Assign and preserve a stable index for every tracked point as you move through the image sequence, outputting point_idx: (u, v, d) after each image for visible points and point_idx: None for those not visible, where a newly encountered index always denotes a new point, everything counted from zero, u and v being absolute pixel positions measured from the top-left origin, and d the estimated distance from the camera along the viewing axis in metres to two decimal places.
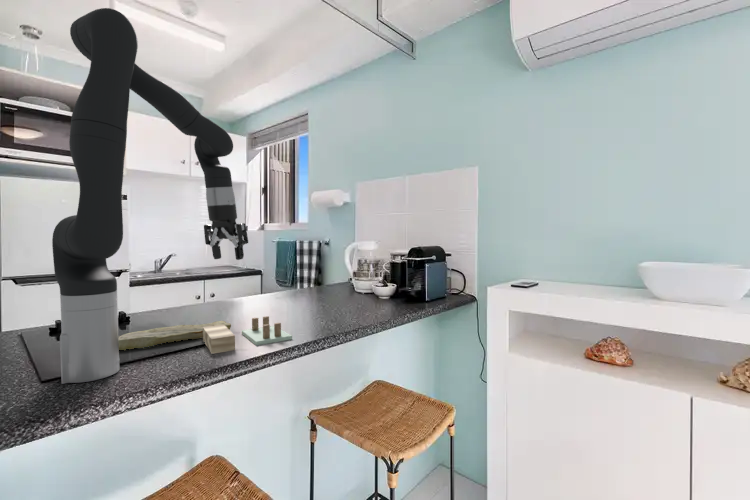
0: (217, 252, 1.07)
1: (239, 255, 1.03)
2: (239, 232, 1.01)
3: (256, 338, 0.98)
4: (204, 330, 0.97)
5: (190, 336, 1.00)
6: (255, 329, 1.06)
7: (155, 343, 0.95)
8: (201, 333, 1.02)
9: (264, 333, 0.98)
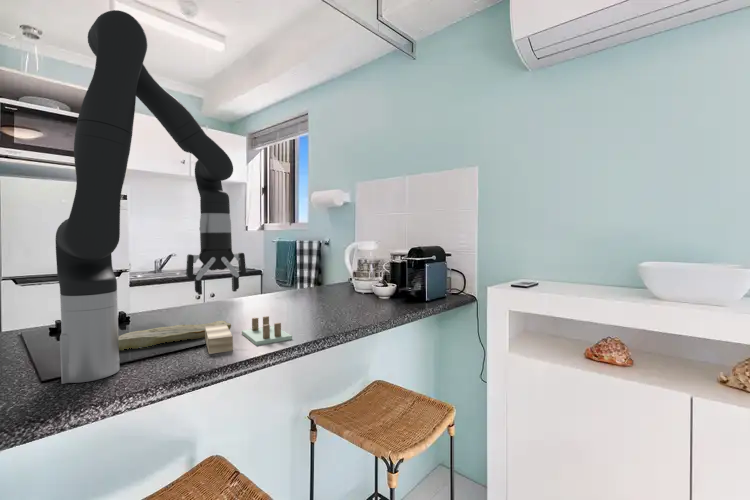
0: None
1: (237, 286, 0.98)
2: (243, 261, 0.98)
3: (256, 338, 0.98)
4: (205, 330, 0.98)
5: (190, 336, 1.00)
6: (255, 329, 1.06)
7: (155, 343, 0.95)
8: (201, 333, 1.02)
9: (264, 333, 0.98)
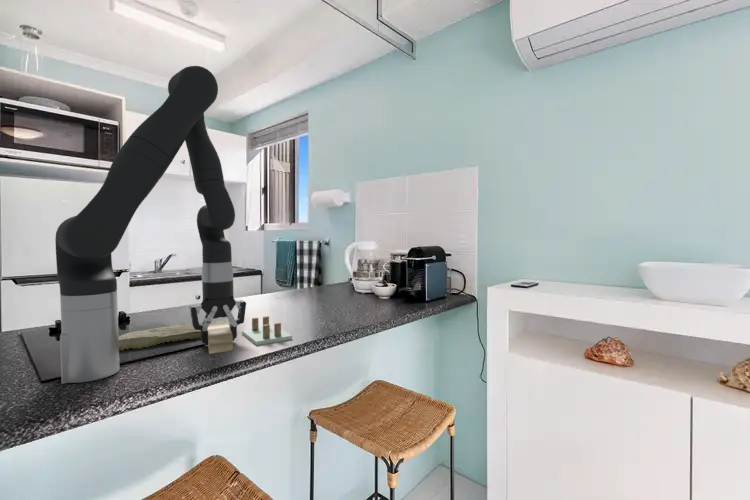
0: None
1: (235, 335, 0.98)
2: (243, 310, 0.98)
3: (256, 338, 0.98)
4: None
5: (190, 336, 1.00)
6: (255, 329, 1.06)
7: (155, 343, 0.95)
8: None
9: (264, 333, 0.98)
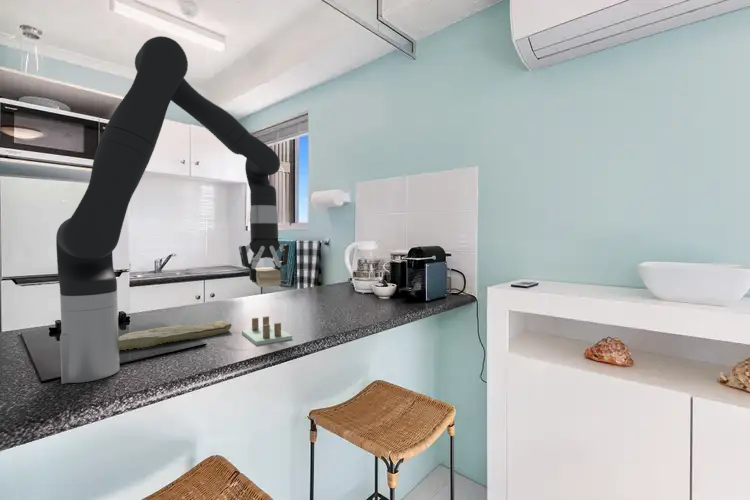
0: None
1: None
2: (286, 252, 1.05)
3: (256, 338, 0.98)
4: None
5: (191, 336, 1.00)
6: (255, 329, 1.06)
7: (156, 343, 0.95)
8: (202, 333, 1.02)
9: (264, 333, 0.98)
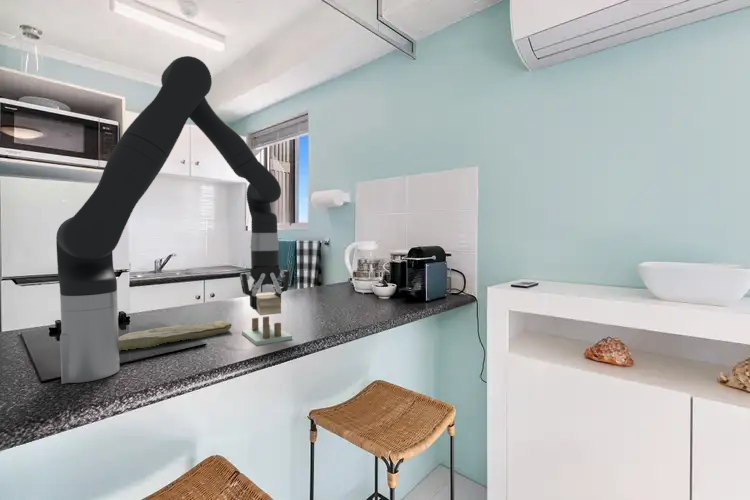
0: None
1: None
2: (287, 278, 1.06)
3: (256, 338, 0.98)
4: None
5: (191, 336, 1.00)
6: (255, 329, 1.06)
7: (157, 343, 0.95)
8: (202, 333, 1.02)
9: (264, 333, 0.98)
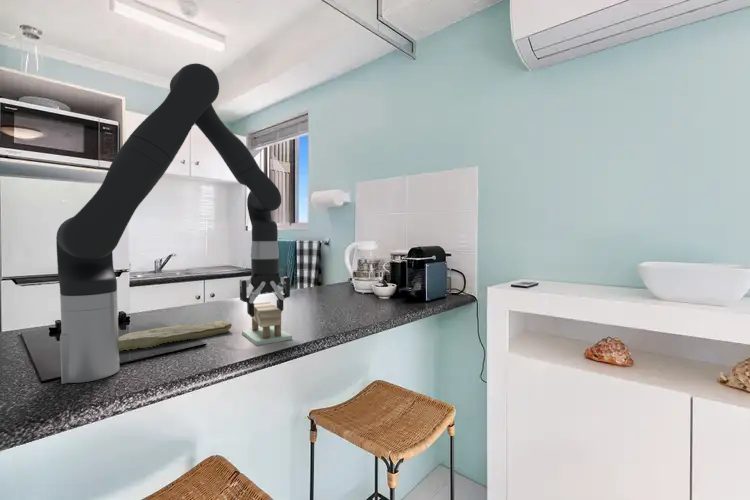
0: None
1: (282, 308, 1.06)
2: (288, 285, 1.06)
3: (256, 338, 0.98)
4: None
5: (191, 336, 1.01)
6: (255, 329, 1.06)
7: (157, 343, 0.95)
8: (202, 332, 1.02)
9: (264, 333, 0.98)
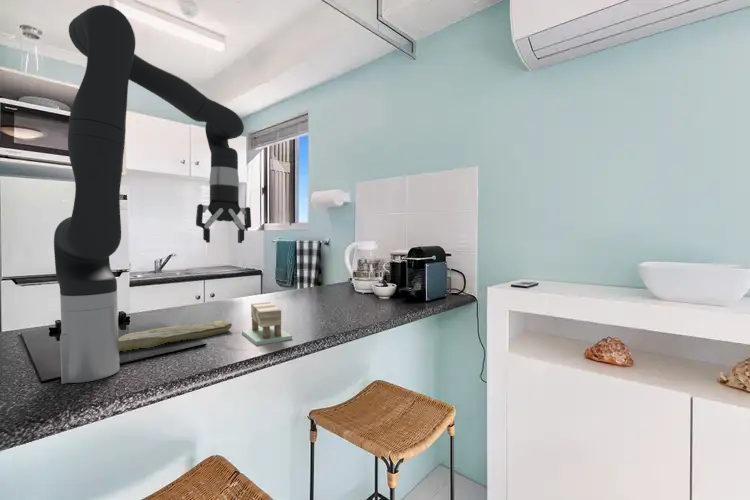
0: None
1: (243, 238, 1.04)
2: (249, 215, 1.05)
3: (256, 338, 0.98)
4: (253, 306, 1.06)
5: (192, 336, 1.01)
6: (255, 329, 1.06)
7: (158, 343, 0.95)
8: (203, 332, 1.03)
9: (264, 333, 0.98)
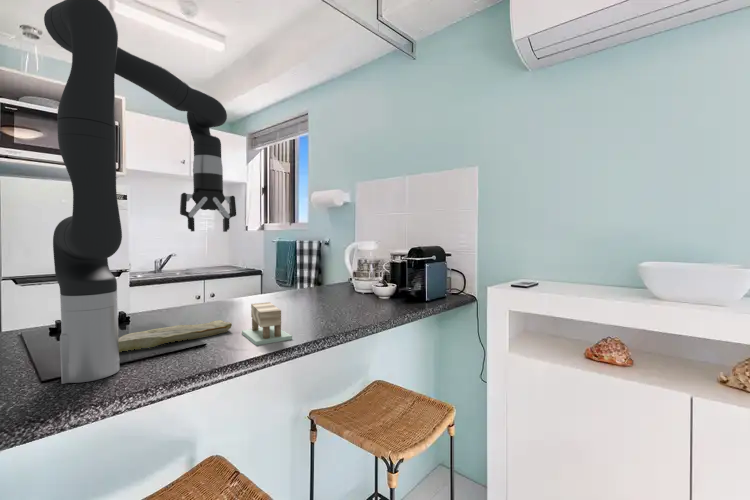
0: None
1: (228, 227, 1.04)
2: (233, 203, 1.04)
3: (256, 338, 0.98)
4: (253, 306, 1.06)
5: (192, 336, 1.01)
6: (255, 329, 1.06)
7: (159, 343, 0.95)
8: (203, 332, 1.03)
9: (264, 333, 0.98)
